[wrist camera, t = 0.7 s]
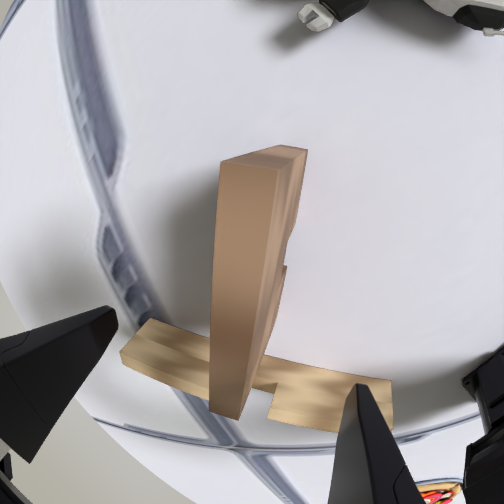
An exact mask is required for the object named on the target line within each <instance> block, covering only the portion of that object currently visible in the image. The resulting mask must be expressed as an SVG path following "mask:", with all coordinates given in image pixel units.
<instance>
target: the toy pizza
mask: <svg viewBox="0 0 504 504" xmlns="http://www.w3.org/2000/svg"><path fill="white" fill-rule="evenodd" d="M415 484H416V486H417V488H418V490H419V491H420V493H421V495H422V497H423V498H424V500H425V502H426V503H427V504H448V503H450V502H451V501H452V498H454V497H455V496H456V495H458V494H459V492H460V491H461V490H462V485H463V480H460V479H456V478H445V479H435V480H427V481H421V482H415Z"/></svg>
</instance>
